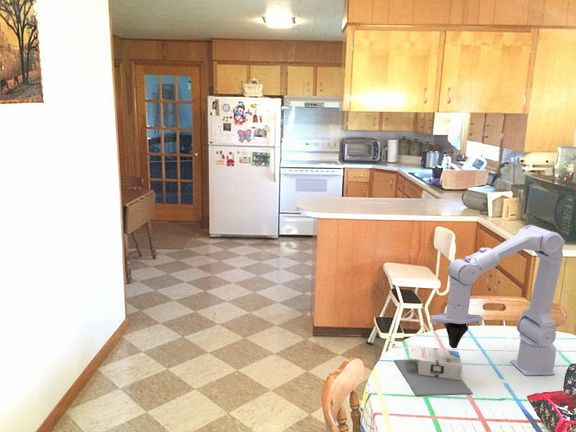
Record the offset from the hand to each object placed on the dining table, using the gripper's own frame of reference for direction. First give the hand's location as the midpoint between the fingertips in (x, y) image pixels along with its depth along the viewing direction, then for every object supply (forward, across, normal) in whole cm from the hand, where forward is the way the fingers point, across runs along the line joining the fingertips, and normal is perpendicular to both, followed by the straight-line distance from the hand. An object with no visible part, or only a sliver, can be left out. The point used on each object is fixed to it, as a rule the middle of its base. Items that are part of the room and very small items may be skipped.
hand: (452, 346), depth 133 cm
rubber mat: (+9, +6, 0) cm, 11 cm away
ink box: (+7, -3, -1) cm, 7 cm away
